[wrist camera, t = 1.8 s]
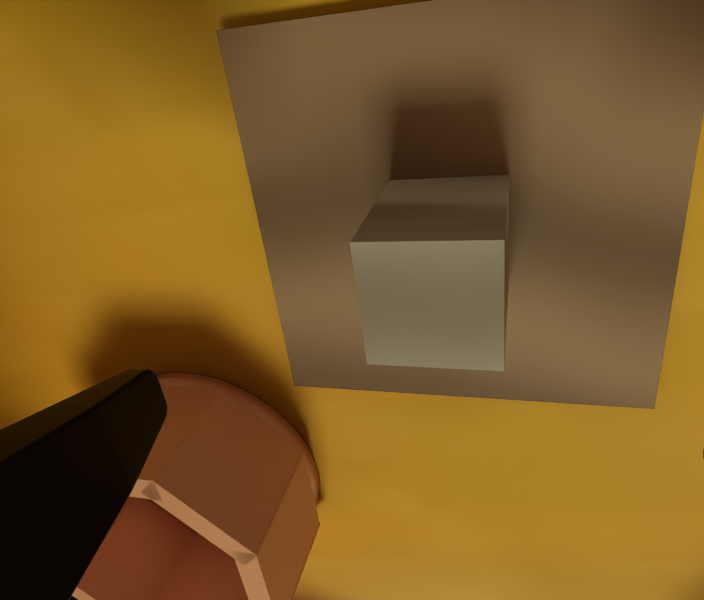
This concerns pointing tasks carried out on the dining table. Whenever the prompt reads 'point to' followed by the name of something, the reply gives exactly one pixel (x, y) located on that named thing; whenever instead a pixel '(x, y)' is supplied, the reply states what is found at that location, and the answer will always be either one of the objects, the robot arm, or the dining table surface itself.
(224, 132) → the dining table surface
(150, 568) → the terracotta bowl
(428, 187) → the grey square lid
